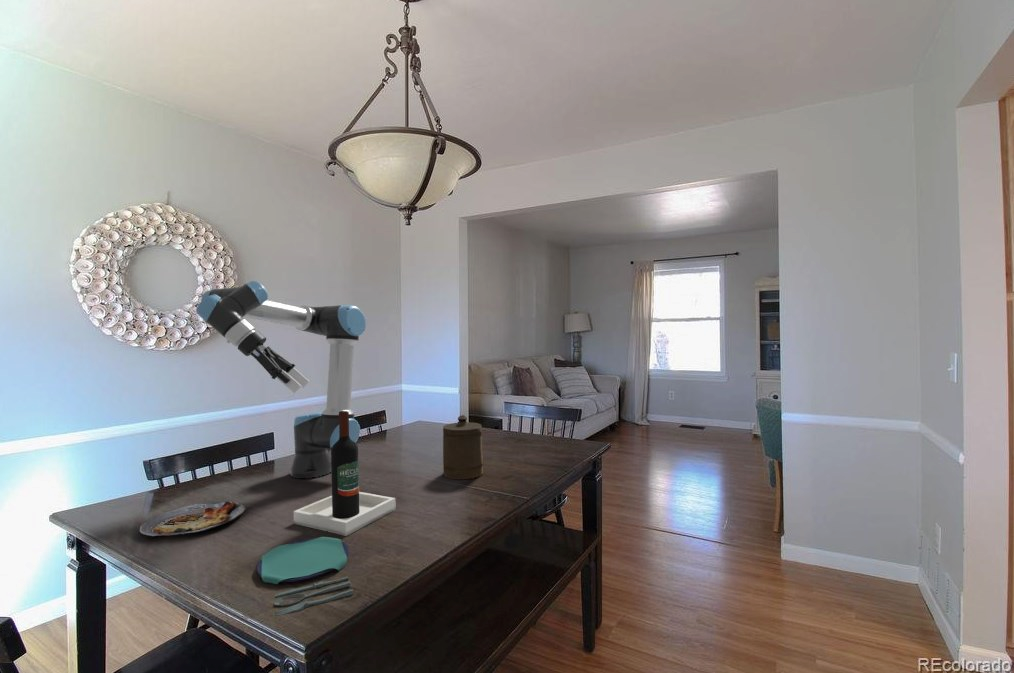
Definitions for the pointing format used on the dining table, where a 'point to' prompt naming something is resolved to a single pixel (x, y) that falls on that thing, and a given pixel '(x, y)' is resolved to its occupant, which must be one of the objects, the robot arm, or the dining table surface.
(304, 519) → the tray
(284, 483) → the dining table surface
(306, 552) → the cutlery set
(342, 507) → the wine bottle
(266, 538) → the dining table surface
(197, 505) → the food plate
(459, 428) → the wooden container
